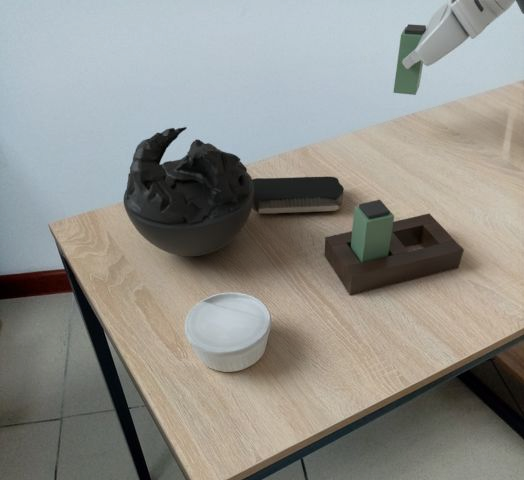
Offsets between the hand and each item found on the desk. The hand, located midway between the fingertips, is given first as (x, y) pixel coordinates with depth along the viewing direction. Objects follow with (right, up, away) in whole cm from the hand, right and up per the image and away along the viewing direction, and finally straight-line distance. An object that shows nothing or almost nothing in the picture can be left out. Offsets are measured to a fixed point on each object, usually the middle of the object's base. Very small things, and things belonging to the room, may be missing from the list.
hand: (407, 59), depth 98 cm
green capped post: (+1, -4, +4) cm, 5 cm away
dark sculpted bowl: (-38, -36, -10) cm, 53 cm away
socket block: (-7, -40, -15) cm, 43 cm away
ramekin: (-31, -54, -26) cm, 67 cm away
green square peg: (-11, -41, -16) cm, 45 cm away
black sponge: (-21, -28, -3) cm, 35 cm away
